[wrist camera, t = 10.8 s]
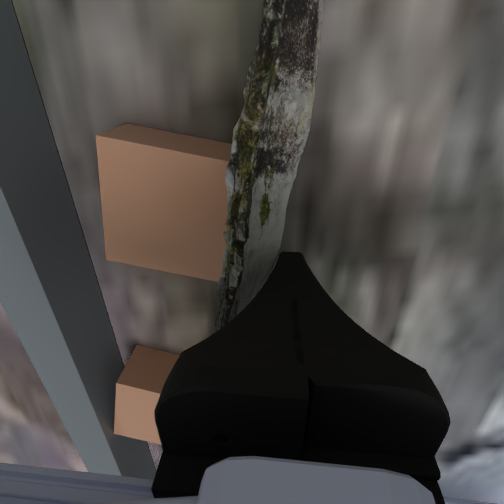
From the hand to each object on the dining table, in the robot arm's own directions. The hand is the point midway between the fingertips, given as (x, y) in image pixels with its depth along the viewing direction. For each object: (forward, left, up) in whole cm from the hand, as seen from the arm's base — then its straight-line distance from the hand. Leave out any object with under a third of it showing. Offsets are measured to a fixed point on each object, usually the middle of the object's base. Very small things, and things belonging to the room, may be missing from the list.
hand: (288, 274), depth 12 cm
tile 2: (+6, +9, -2) cm, 11 cm away
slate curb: (+10, +6, -2) cm, 12 cm away
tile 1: (+4, -2, -2) cm, 5 cm away
